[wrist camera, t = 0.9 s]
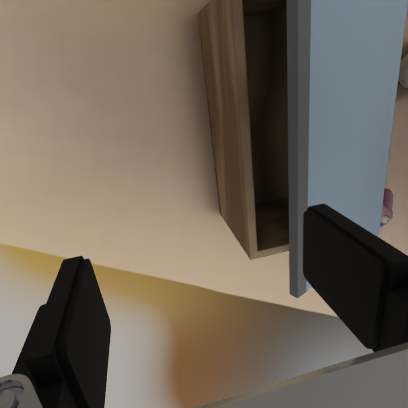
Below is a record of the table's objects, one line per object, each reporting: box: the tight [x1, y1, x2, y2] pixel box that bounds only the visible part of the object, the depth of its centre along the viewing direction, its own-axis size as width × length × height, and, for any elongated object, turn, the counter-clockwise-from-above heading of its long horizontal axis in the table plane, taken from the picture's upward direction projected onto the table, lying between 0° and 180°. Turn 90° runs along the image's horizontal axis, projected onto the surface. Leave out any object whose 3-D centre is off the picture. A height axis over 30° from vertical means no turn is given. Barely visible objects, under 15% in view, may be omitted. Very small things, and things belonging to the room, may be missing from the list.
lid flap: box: [287, 0, 408, 298], centre depth 24 cm, size 14×24×1 cm, turn 6°
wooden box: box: [198, 0, 289, 260], centre depth 33 cm, size 14×24×12 cm, turn 7°
